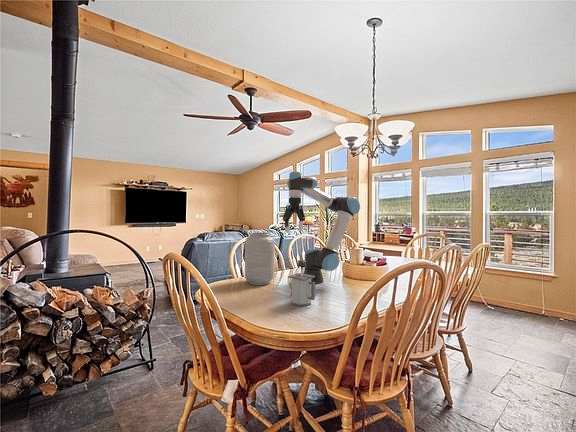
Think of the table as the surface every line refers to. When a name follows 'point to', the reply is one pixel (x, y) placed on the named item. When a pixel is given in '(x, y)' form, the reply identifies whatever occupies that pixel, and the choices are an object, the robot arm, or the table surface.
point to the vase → (259, 258)
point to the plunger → (301, 265)
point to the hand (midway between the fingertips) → (294, 232)
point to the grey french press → (302, 289)
